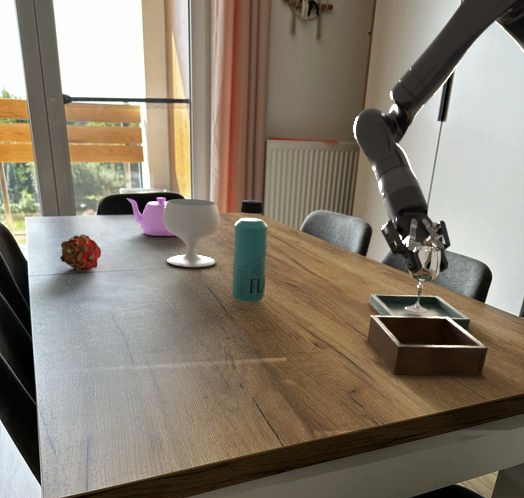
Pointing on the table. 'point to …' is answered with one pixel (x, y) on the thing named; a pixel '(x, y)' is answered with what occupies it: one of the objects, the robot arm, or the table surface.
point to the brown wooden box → (426, 346)
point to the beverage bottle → (249, 254)
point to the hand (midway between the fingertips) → (430, 270)
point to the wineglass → (425, 272)
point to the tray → (434, 304)
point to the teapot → (152, 217)
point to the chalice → (191, 227)
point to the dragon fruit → (80, 252)
